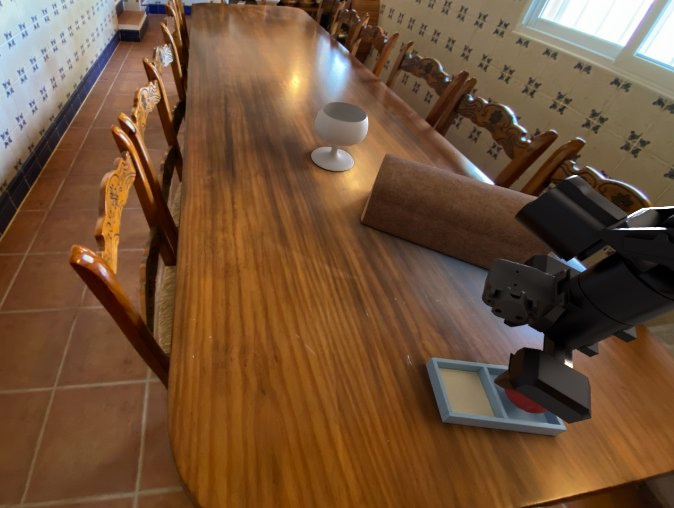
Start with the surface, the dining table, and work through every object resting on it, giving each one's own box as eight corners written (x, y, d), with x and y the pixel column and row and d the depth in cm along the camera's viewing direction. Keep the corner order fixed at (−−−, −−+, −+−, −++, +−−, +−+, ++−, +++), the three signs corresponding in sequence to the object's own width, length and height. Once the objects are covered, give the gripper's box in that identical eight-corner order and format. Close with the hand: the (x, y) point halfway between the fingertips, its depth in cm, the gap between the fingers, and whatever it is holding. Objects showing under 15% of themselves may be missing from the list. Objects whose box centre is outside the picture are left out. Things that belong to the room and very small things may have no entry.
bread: (370, 191, 92) (388, 144, 83) (518, 241, 82) (557, 193, 72) (358, 224, 82) (376, 174, 73) (524, 285, 72) (569, 236, 63)
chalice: (336, 180, 95) (351, 130, 85) (297, 156, 102) (306, 108, 93) (366, 162, 102) (382, 115, 93) (327, 141, 110) (339, 95, 100)
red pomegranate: (544, 422, 52) (581, 400, 47) (506, 420, 52) (538, 398, 47) (522, 380, 56) (553, 356, 51) (486, 379, 56) (514, 354, 51)
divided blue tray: (556, 436, 51) (567, 430, 49) (442, 422, 51) (450, 415, 50) (526, 376, 57) (535, 369, 56) (425, 364, 58) (431, 357, 56)
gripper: (529, 199, 42) (455, 267, 54) (512, 321, 31) (422, 375, 42) (636, 250, 39) (533, 311, 50) (662, 408, 27) (520, 440, 39)
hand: (502, 352), depth 46 cm, fingers open, 9 cm apart
